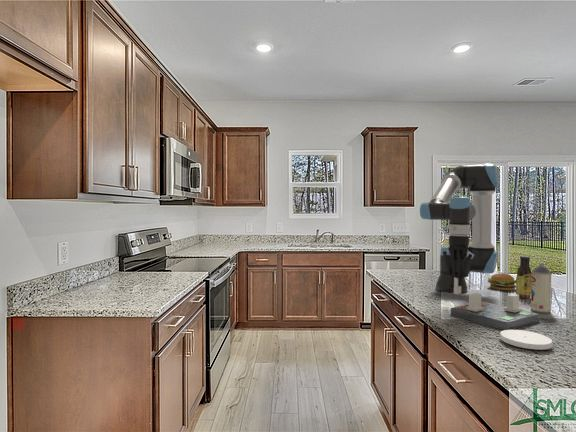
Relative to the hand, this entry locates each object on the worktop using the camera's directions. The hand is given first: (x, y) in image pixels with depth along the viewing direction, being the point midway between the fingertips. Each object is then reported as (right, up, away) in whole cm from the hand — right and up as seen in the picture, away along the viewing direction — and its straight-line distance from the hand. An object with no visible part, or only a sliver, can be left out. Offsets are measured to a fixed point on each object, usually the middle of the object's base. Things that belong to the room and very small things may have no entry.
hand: (457, 293), depth 155 cm
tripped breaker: (+4, -5, -6) cm, 9 cm away
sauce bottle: (+46, -8, +31) cm, 56 cm away
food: (+47, -8, +52) cm, 70 cm away
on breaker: (+18, -5, -6) cm, 20 cm away
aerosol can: (+37, -9, +6) cm, 39 cm away
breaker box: (+11, -8, -6) cm, 15 cm away
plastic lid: (+6, -9, -34) cm, 36 cm away
